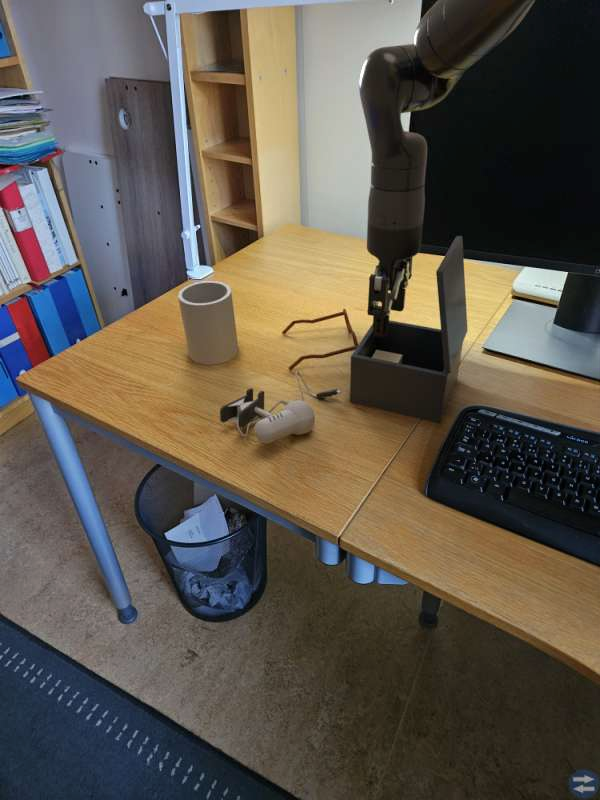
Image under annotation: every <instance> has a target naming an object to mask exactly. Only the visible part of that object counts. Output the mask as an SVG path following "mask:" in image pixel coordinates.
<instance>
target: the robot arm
mask: <svg viewBox="0 0 600 800" xmlns="http://www.w3.org/2000/svg"><path fill="white" fill-rule="evenodd" d="M535 2H536V0H436V2H435V3H434V4H433V5H432V6H431V7H430V8H429V9H428V10H427V12H426V13H425V14H424V15H423V16H422V18H421V19H420V21H419V22H418V24H417V27H416V29H415V32H414V37H413V43H409V44H400V45H390V46H383V47H379V48H376V49H375V50H373V51H371V52H370V53H369V55H368V56H367V57H366V59H365V61H364V63H363V65H362V68H361V71H360V75H359V82H358V87H359V89H358V90H359V98H360V104H361V106H362V111H363V116H364V119H365V120H364V121H365V125H366V130H367V134H368V140H369V144H370V151H371V163H370V164H371V165H370V187H369V193H368V201H367V202H368V203H367V224H366V227H367V228H366V250H367V252H368V253H369V254H370V255H371V256H372V257H375V258H376V259H377V260H378V264H376V265H375V270H374V273H371V274H370V276H369V278H368V297H367V298H368V299H367V316H373V317H372V318H373V319H372V324H373V335H374V336H378V337H384V338H385V337H387V335H388V331H389V320H390V314H391V311H395V312H403V311H404V309H405V304H406V303H405V302H406V291H407V290H406V289H407V288H408V286H409V280H411V278H412V277H413V275H412V271H413V258H414V257H415V256H416V255H418V254H419V253H420V251H421V248H422V238H423V226H424V216H425V206H426V194H425V193H426V192H425V191H426V190H425V186H426V185H425V184H426V173H427V162H428V142H427V140H426V137H424V136H423V135H422V134H420V133H417V132H413V131H408V130H407V131H406V130H404V127H403V124H402V114H405V113H406V114H407V113H411V112H419V111H424V110H426V109H429V108H431V107H434V106H435V105H437V104H439V103H441V102H442V101H443V100H444V99H445V98H447V96H448V95H449V94H450V92H451V91H452V90H453V89H454V87H455V86H456V84H457V83H458V82H459V81H460V79H461V78H462V77H463V75H464V73H465V72H466V71H467V70H468V69H470V68H471V67H472V66H473V65H475V64H476V63H477V62H479V61H480V60H481V59H482V58H484V57H485V56H486V55H487V54H489V53H490V52H491V51H493V50H494V49H495V48H496V47H497V46H499V45H500V44H501V43H502V42H503V41H504V40H505V39H507V38H508V37H509V36H510V35H511V34H512V33H513V32H514V30H515V29H516V28H517V27H518V26H519V25H520V24H521V22H522V21H523V20H524V18H525V17H526V15H527V14H528V13H529V11H530V9H531V8H532V7H533V5H534V4H535ZM379 303H381V305H379Z"/></svg>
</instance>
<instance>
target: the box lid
mask: <svg viewBox="0 0 600 800" xmlns="http://www.w3.org/2000/svg"><path fill="white" fill-rule="evenodd" d="M464 259H465V258H464V243H463V236H462V235H457V236H455V238H454V240H453V241H452V243H451V245H450V247H449V248H448V250H447V252H446V254H445V255H444V257H443V259H442V261H441V262H440V264H439V266H438V268H437V269H436V271H435V274H436V276H435V277H436V286H437V297H438V298H437V299H438V309H439V322H440V329H441V335H442V347H443V358H444V370H445V373H451V371H452V368H453V366H454V363H455V361H456V358H457V356H458V353H459V351H460V348H461V346H462V343H463V344H464V341H465V338H466V336H467V334H468V314H467V313H468V312H467V296H466V295H467V294H466V278H465V263H464V262H465V261H464ZM462 347H463V346H462Z"/></svg>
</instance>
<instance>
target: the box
mask: <svg viewBox="0 0 600 800" xmlns="http://www.w3.org/2000/svg"><path fill="white" fill-rule="evenodd" d="M362 337H363V338H362V339H361V340H360V341H359V342H358V346H357V348H356V349H355V350H353V351H352V354H351V355H350V374H349V375H350V376H349V377H350V379H349V381H350V382H349V403H352V404H356V405H361V406H366V407H371V408H374V409H379V410H383V411H387V412H391V413H395V414H399V415H404V416H407V417H412V418H417V419H419V420H424V421H428V422H433V423H437V424H441V422H442V419H443V417H444V414H445V411H446V408H447V406H448V404H449V401H450V398H451V395H452V393H453V391H454V388H455V385H456V382H457V380H458V374H459V369H460V363H461V357H462V351H463V346H464V342H463V343H462V346H461V348H460V351H459V353H458V356H457V358H456V361H455V363H454V366H453V368H452V371H451V373H445V370H444V358H443V347H442V335H441V328H434V327H429V326H423V325H418V324H412V323H407V322H401V321H395V320H390V319H389V331H388V335H387V337H385V338H384V337H378V336H374V335H373V323H372V324H371V325H370V327H369V329H368V330H367V331H366V333H365V334H364V336H362ZM376 350H380V351H385V352H391V353H396V354H401V355H403V357H402V364H400V363H395V362H390V361H385V360H380V359H375V358H372V356H373V355H374V353H375V351H376Z"/></svg>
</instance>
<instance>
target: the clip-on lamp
mask: <svg viewBox="0 0 600 800" xmlns="http://www.w3.org/2000/svg"><path fill="white" fill-rule="evenodd" d="M295 377H296V381H297V384H298V388H299V391H300V396H301V400H300V399H298V400H292V401H286V400H282V399H281V400H278V401H277V402H276V403H275V404H274V405H273V406H272V407H271V408H270V409H269V410H268V411H266V410H265V390H260V391H259V392H258V393H257V398H256V399H254V388H250V387H249V388H247V390H246V393H245V394H246V395H244V396H241V397H239V398H237V399H235V400H233V401H230V402H229V403H227V404H224V405H223V406H221V407H220V409H219V421H220V422H221V423H227V422H230V421H231V422H232V421H236V428H237V430H238V432H239V434H240V435H241V436H242V437H243V438H245V437H247V436H248V432H249V427H250V426H253V425H254V428H253V432H254V436H255V438H256V439H257V440H258V441H259V442H260V443H262V444H269V443H272V442H275V441H277V440H279V439H282V438H284V437H287V436H288V435H289V436H290V435H291V434H292V435H295V436H296V435H297V436H299V435H304V434H305V435H306V434H307V433H308V432H310V431H311V430H312V429H313V427H314V425H315V422H316V416H315V412H314V410H313V408H312V406H311V405H310V404H309V403H308V402H307V401H305V400H304V394H303V390H302V387H301V384H300V380H301V382H302V384H303V385H304V387H305V389H306V391H307V392H308V393H309V395H310V396H312V397H314V398H316V399H321V398H323V399H325V398H328V397H330V398H332V397H333V396H337V395H338V394H342V393H343V391H342V390H339V389H337V388H336V389H331V390H326V391H321V392H320V391H319V392H318V393H316V394H315V393H313V392H312V390H311V389H310V388H309V386H308V384H307V383H306V381H305V379H304V377H303V375H302V374H301V373H300V371H299V370H296V371H295ZM299 378H300V380H299ZM280 404H282V405H285V406H284V408H283V409H282V410H281V411H278V412H276V413H274V414H272V412H273V411H274V410H275V408H277V407H278V406H279V405H280ZM256 417H258V418H257V419H256V420H254V419H255V418H256ZM253 420H254V421H253ZM246 426H247V427H246ZM244 427H246V432H245V434H244V433H243V432H242V430H241V429H240V428H242V429H243V428H244Z"/></svg>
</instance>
